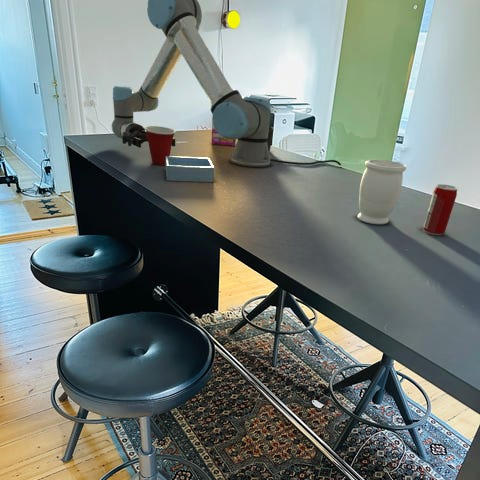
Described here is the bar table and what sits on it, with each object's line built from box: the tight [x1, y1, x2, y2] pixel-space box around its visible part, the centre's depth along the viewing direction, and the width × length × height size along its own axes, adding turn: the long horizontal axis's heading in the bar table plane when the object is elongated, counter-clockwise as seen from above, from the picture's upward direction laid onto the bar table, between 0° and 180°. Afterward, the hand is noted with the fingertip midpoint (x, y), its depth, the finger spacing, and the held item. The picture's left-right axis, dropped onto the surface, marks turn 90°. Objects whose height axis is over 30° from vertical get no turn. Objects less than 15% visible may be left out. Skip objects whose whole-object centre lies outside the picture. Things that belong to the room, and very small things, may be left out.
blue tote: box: [165, 155, 215, 183], centre depth 148 cm, size 15×15×5 cm
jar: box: [357, 159, 407, 225], centre depth 117 cm, size 11×10×15 cm
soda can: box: [422, 183, 458, 236], centre depth 113 cm, size 6×6×12 cm
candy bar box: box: [211, 117, 237, 147], centre depth 203 cm, size 11×5×16 cm, turn 81°
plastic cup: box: [144, 125, 176, 166], centre depth 159 cm, size 11×11×12 cm
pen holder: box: [267, 126, 274, 152], centre depth 197 cm, size 9×9×10 cm
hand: (157, 143), depth 160 cm, fingers open, 13 cm apart
